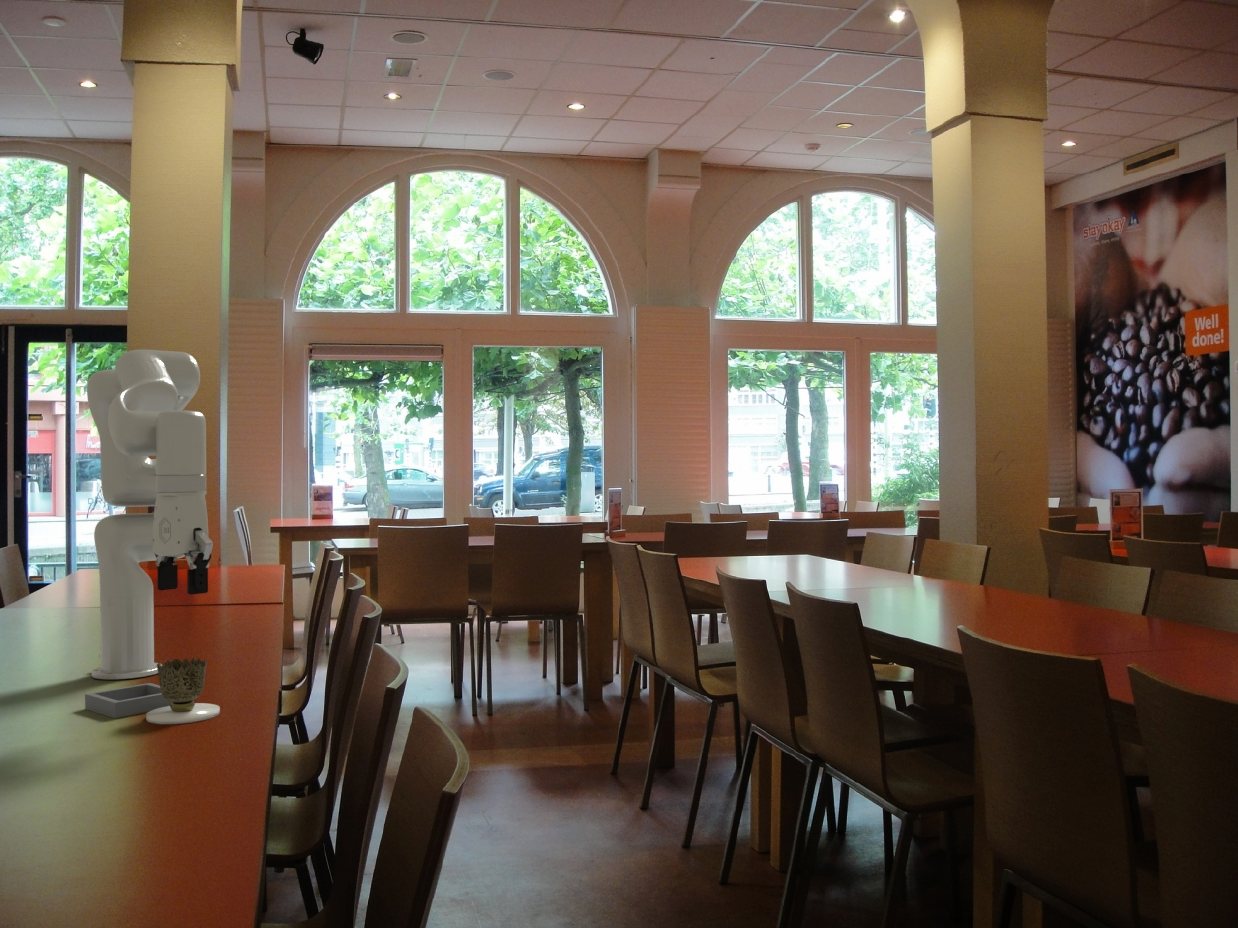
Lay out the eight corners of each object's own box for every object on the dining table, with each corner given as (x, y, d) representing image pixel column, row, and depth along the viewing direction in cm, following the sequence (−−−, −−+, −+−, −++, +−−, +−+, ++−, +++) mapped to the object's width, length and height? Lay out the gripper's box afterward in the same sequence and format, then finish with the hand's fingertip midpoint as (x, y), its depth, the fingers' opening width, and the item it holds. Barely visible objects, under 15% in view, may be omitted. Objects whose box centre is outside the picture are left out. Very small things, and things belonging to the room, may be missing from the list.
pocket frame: (85, 708, 171) (85, 693, 171) (149, 697, 179) (149, 682, 179) (115, 718, 164) (115, 702, 164) (181, 705, 173) (180, 690, 173)
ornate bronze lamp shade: (188, 716, 161) (188, 666, 161) (147, 715, 162) (147, 665, 162) (216, 706, 168) (216, 657, 168) (176, 704, 170) (176, 656, 170)
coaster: (133, 717, 164) (133, 712, 164) (198, 704, 173) (198, 700, 173) (167, 727, 157) (167, 722, 157) (232, 714, 166) (232, 709, 166)
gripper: (133, 486, 168) (134, 590, 168) (186, 487, 157) (187, 597, 157) (177, 485, 174) (178, 585, 174) (231, 486, 163) (232, 592, 163)
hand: (182, 591), depth 165 cm, fingers open, 9 cm apart
